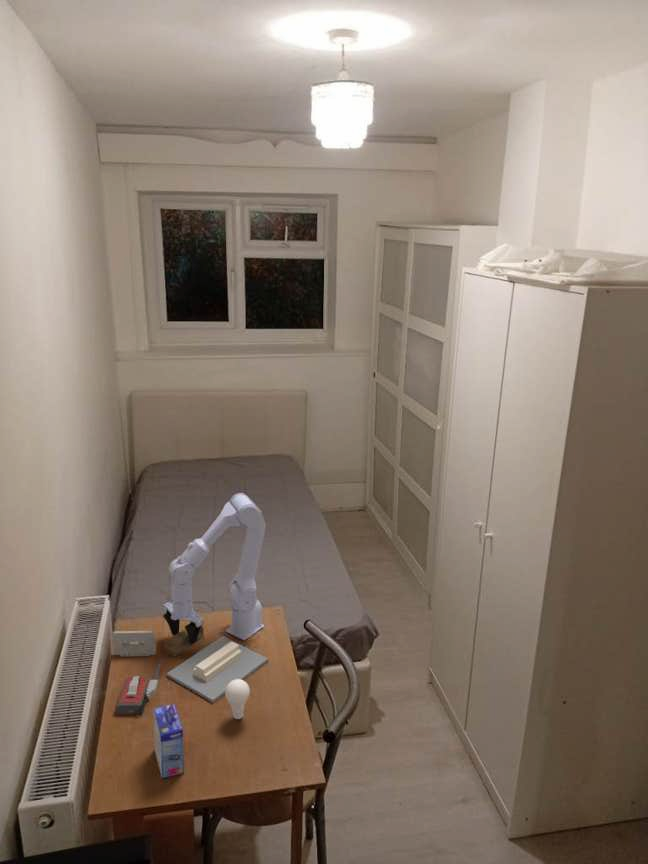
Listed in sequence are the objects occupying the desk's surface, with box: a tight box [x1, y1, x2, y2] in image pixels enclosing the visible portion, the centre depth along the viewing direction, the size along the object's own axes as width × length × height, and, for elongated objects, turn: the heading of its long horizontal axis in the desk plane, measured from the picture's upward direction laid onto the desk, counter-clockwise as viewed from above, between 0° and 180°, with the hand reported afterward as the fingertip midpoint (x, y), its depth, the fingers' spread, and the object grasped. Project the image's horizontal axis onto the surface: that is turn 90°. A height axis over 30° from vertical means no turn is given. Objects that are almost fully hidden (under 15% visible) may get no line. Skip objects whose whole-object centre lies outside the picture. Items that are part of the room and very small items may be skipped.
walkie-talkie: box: [115, 663, 162, 716], centre depth 177 cm, size 9×4×20 cm
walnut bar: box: [164, 625, 204, 657], centre depth 197 cm, size 12×4×4 cm, turn 144°
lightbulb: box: [224, 679, 251, 720], centre depth 167 cm, size 6×6×11 cm
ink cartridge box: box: [152, 703, 185, 779], centre depth 152 cm, size 10×6×14 cm, turn 24°
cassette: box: [111, 630, 157, 657], centre depth 191 cm, size 12×2×8 cm, turn 93°
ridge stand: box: [166, 635, 269, 704], centre depth 186 cm, size 22×18×4 cm
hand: (184, 638), depth 197 cm, fingers open, 7 cm apart
